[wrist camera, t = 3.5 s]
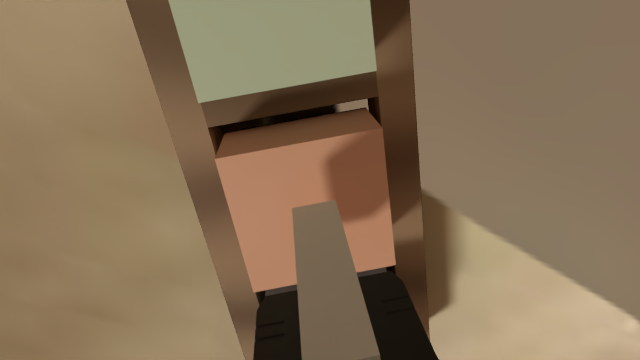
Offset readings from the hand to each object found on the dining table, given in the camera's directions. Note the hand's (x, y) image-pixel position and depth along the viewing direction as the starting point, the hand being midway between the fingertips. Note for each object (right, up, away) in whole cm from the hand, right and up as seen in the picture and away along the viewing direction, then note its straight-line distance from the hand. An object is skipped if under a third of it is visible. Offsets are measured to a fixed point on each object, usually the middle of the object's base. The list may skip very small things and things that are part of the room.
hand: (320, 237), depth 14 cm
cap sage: (-2, +9, +1) cm, 9 cm away
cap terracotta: (-1, +2, +4) cm, 5 cm away
